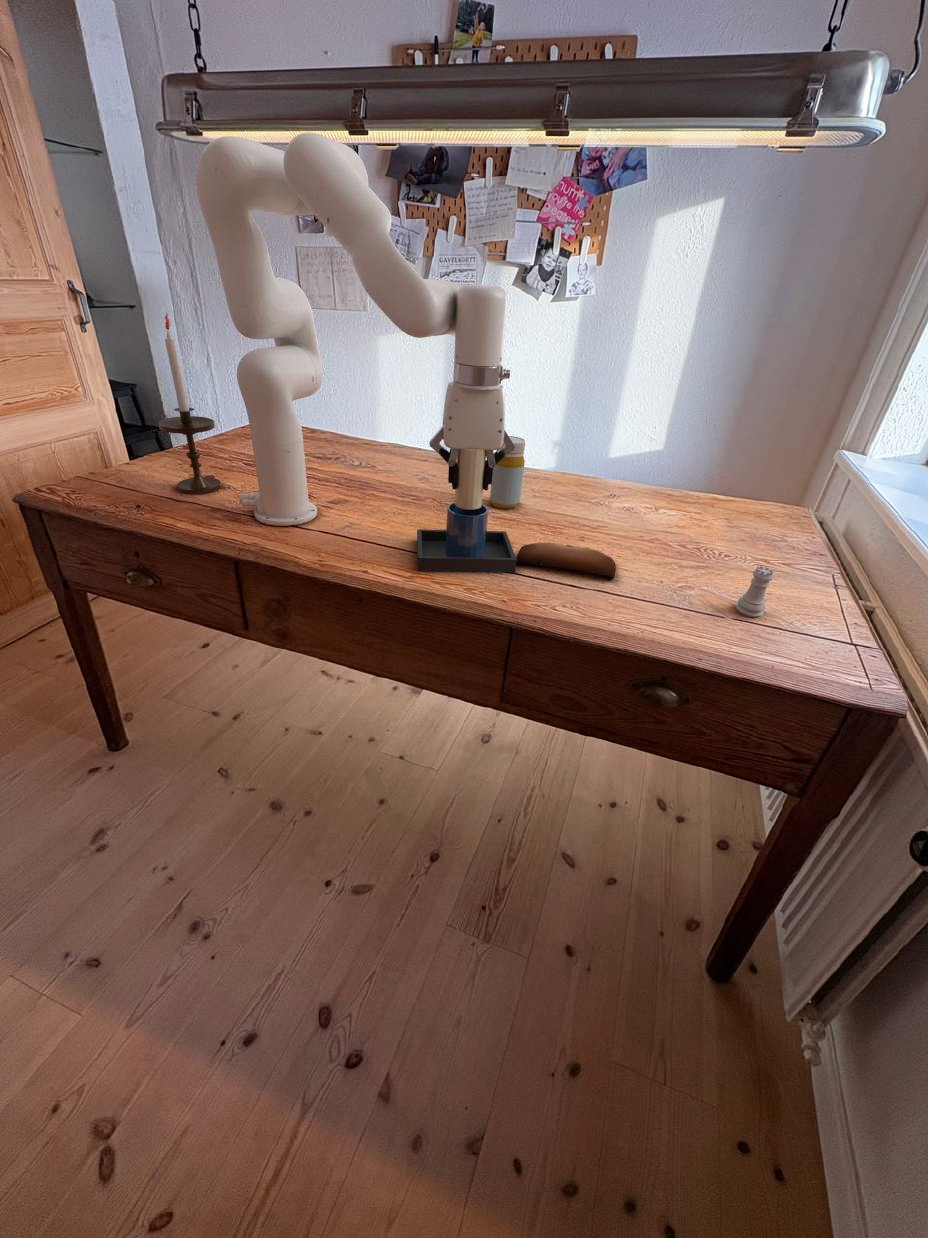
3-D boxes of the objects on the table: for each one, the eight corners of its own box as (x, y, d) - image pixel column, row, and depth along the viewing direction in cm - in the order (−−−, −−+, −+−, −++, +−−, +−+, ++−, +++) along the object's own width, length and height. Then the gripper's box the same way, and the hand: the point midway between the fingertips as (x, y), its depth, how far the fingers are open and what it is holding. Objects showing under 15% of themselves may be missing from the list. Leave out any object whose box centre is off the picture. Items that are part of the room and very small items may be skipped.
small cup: (456, 509, 96) (459, 448, 90) (454, 499, 100) (457, 441, 94) (483, 509, 96) (488, 450, 91) (480, 500, 100) (484, 442, 95)
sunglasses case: (614, 559, 105) (620, 539, 99) (610, 590, 102) (616, 571, 96) (522, 545, 108) (523, 525, 102) (515, 575, 105) (516, 555, 99)
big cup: (446, 562, 100) (448, 515, 95) (444, 544, 106) (446, 500, 101) (486, 562, 100) (490, 516, 96) (481, 545, 107) (485, 501, 102)
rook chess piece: (738, 616, 91) (755, 573, 87) (731, 603, 95) (747, 561, 90) (766, 620, 91) (784, 577, 86) (758, 606, 94) (775, 565, 90)
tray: (418, 571, 97) (418, 557, 96) (417, 541, 108) (417, 529, 106) (515, 572, 99) (516, 559, 98) (504, 543, 110) (506, 531, 108)
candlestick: (195, 476, 130) (160, 309, 112) (235, 483, 128) (207, 313, 109) (162, 490, 121) (119, 311, 103) (204, 498, 119) (168, 316, 101)
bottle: (517, 511, 125) (525, 445, 117) (487, 507, 126) (493, 441, 118) (520, 501, 131) (528, 437, 123) (492, 497, 132) (498, 433, 124)
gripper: (525, 374, 91) (513, 481, 100) (422, 369, 89) (420, 479, 98) (534, 382, 84) (520, 496, 94) (423, 377, 82) (421, 493, 92)
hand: (469, 486), depth 96 cm, fingers closed on small cup, 4 cm apart
